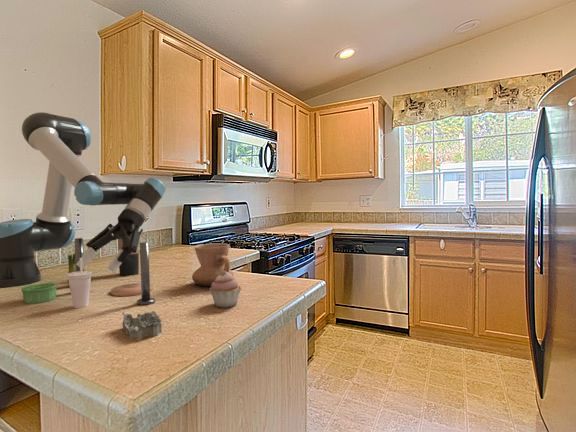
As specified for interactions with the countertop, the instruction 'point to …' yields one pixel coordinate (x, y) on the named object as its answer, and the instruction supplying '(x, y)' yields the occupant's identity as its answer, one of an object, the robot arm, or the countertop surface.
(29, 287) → the ramekin
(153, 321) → the grey castle model
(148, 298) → the rod gate
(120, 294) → the coaster
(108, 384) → the countertop surface
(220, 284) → the cupcake
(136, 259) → the travel mug
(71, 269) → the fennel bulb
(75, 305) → the smoothie
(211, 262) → the ceramic jug
